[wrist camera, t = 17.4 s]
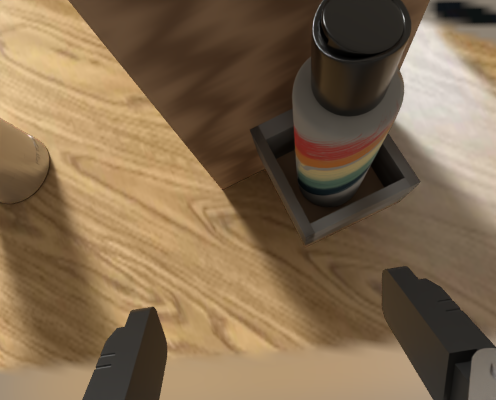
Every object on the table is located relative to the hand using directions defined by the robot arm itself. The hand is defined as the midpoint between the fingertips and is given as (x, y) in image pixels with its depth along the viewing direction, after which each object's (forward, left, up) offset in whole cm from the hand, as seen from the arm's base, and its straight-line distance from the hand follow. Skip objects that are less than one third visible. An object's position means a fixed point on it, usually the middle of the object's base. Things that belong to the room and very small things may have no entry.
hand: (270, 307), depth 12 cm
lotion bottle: (+8, +8, -19) cm, 22 cm away
